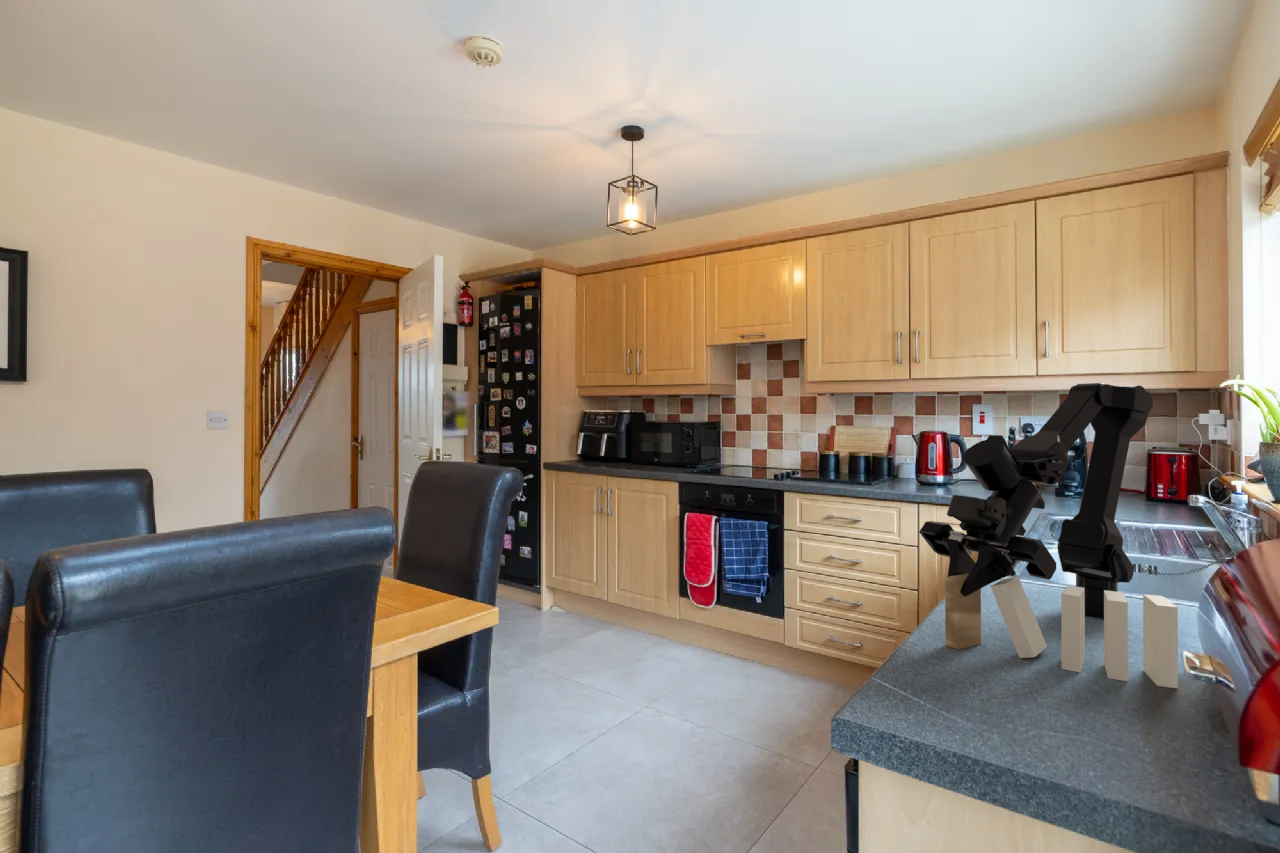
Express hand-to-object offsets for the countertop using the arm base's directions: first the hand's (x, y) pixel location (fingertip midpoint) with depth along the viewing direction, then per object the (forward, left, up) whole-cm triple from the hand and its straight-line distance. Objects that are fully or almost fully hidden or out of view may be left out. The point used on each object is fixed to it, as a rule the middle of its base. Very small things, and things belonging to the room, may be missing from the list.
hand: (955, 592), depth 90 cm
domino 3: (-2, +14, -8) cm, 16 cm away
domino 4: (-2, +18, -8) cm, 20 cm away
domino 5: (-2, +23, -8) cm, 24 cm away
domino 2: (-2, +9, -8) cm, 12 cm away
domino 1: (-1, +1, -8) cm, 8 cm away
